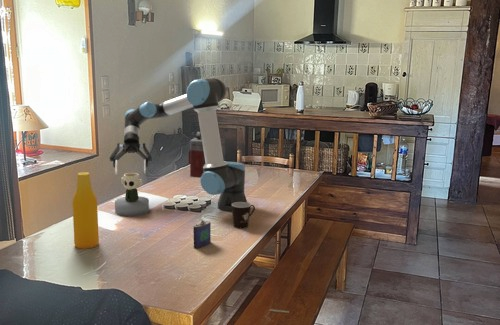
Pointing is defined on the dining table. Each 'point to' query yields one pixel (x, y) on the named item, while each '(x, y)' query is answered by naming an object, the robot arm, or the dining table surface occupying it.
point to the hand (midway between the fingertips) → (130, 172)
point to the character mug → (131, 185)
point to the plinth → (131, 206)
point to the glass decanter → (196, 156)
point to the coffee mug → (241, 214)
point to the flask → (202, 234)
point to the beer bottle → (85, 213)
